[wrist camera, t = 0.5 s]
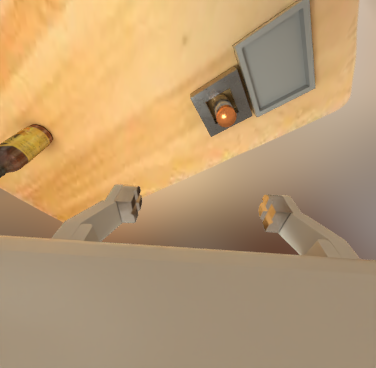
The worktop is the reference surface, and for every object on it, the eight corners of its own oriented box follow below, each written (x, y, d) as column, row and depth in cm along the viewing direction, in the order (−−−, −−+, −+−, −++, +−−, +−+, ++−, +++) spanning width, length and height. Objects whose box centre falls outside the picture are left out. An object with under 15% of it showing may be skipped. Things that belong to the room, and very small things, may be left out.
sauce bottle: (32, 118, 46) (-43, 161, 31) (56, 134, 49) (-1, 180, 34) (25, 134, 49) (-45, 180, 34) (49, 148, 52) (-6, 195, 37)
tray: (232, 45, 35) (234, 46, 33) (301, -3, 30) (309, -5, 28) (254, 113, 44) (256, 117, 42) (309, 85, 39) (315, 88, 38)
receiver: (190, 93, 41) (190, 98, 38) (233, 66, 37) (236, 69, 34) (210, 130, 47) (211, 136, 45) (248, 110, 43) (252, 115, 41)
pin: (209, 99, 42) (213, 114, 34) (224, 90, 40) (232, 104, 33) (216, 113, 44) (221, 130, 37) (230, 105, 43) (239, 121, 35)
